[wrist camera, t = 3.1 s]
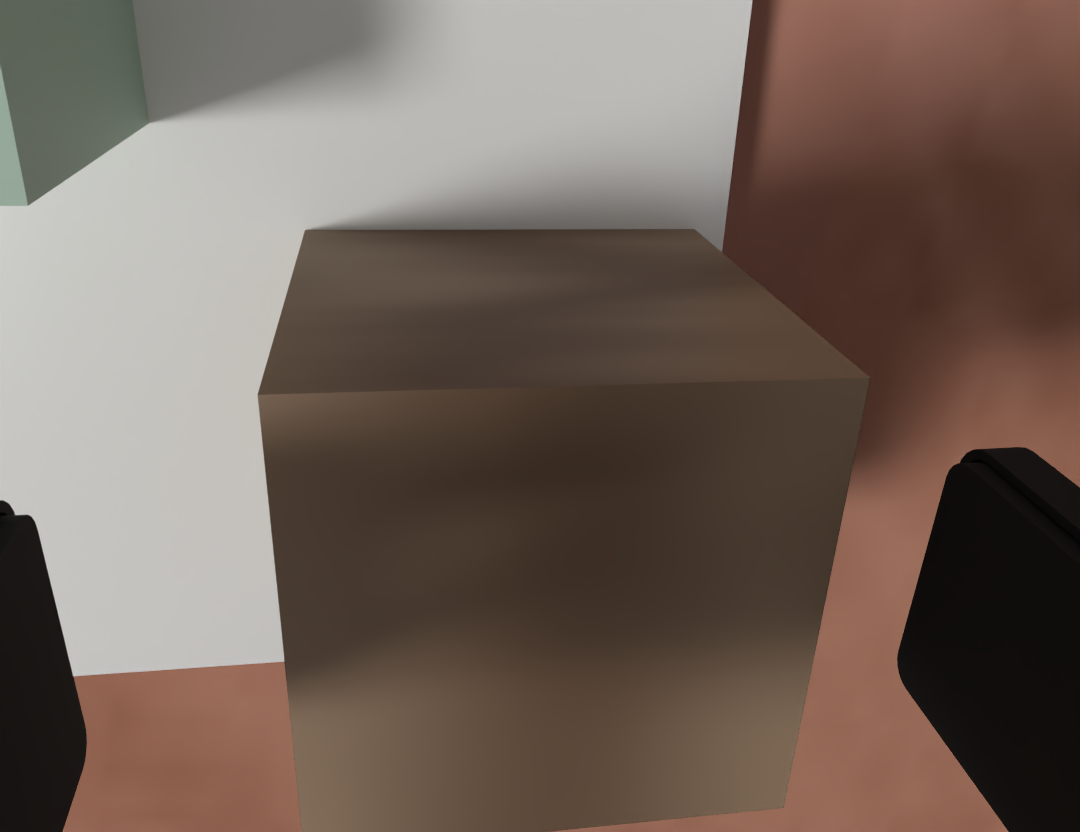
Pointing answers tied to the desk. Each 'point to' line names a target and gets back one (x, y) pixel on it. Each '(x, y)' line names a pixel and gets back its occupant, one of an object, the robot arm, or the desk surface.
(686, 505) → the walnut block
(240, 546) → the building board
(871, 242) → the desk surface
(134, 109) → the sage cube
